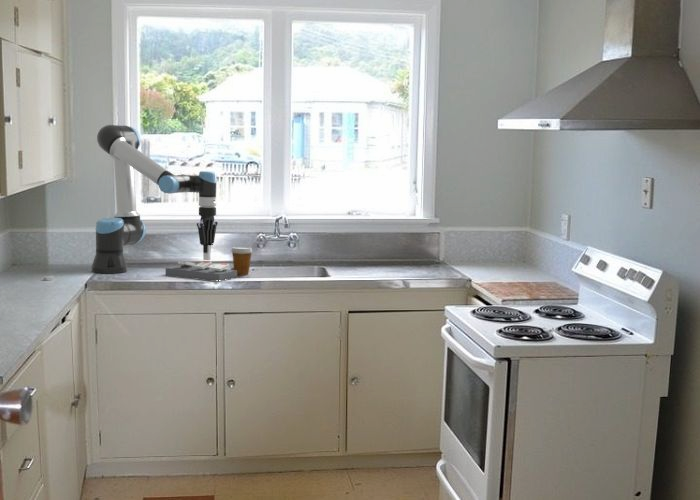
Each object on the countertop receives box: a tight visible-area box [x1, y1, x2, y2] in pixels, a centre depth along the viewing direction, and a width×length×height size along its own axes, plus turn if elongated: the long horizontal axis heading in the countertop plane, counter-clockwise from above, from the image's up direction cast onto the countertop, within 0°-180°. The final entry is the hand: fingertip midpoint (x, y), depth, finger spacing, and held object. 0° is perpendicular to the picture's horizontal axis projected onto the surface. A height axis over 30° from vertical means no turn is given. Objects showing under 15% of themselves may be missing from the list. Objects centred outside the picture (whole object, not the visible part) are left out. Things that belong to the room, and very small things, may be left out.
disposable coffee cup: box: [230, 246, 253, 276], centre depth 382 cm, size 10×10×12 cm
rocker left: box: [177, 260, 196, 266], centre depth 376 cm, size 4×7×1 cm, turn 155°
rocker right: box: [211, 262, 230, 271], centre depth 368 cm, size 4×7×1 cm, turn 155°
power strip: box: [164, 264, 238, 282], centre depth 371 cm, size 28×14×4 cm, turn 65°
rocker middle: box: [195, 260, 213, 269], centre depth 372 cm, size 4×7×1 cm, turn 155°
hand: (206, 259), depth 374 cm, fingers closed
